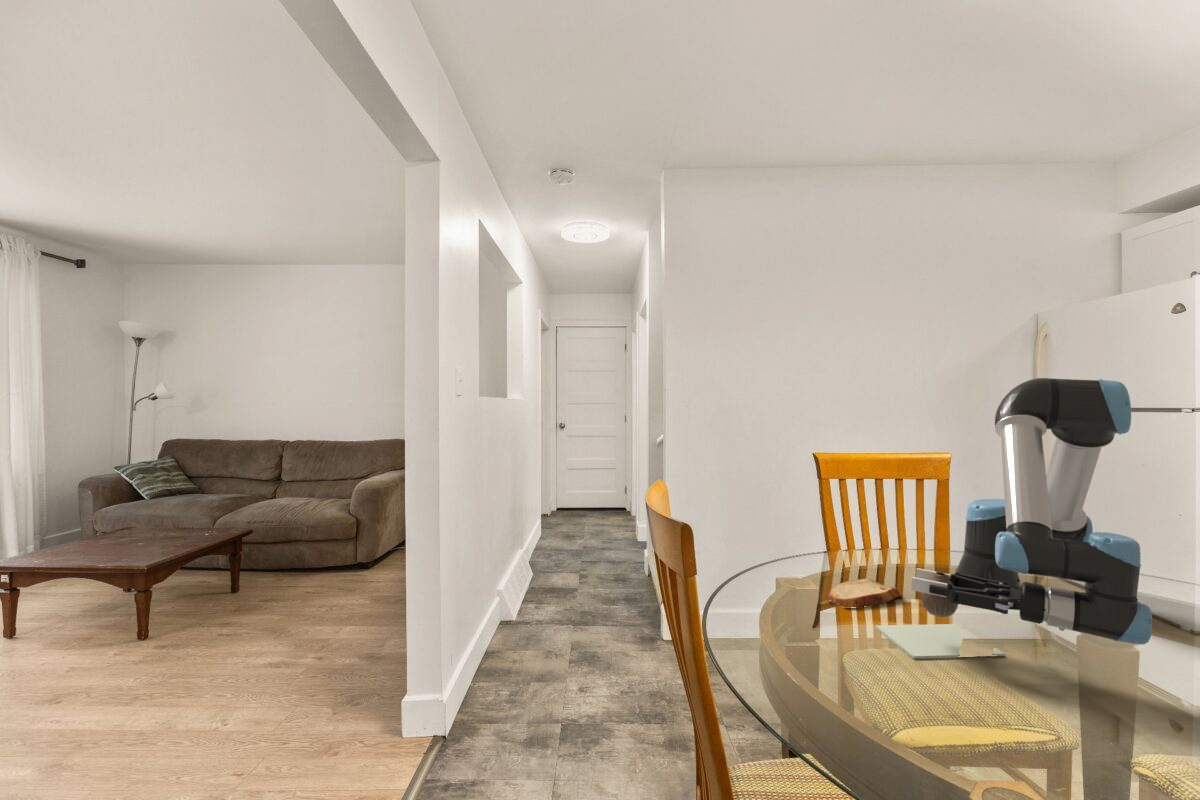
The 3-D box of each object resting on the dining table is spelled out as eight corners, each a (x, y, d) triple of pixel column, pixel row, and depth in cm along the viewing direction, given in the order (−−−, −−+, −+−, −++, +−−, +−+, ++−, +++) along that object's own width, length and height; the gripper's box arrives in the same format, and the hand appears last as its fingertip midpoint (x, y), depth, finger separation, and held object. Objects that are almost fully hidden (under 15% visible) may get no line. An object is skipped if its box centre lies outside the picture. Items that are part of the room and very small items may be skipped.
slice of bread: (829, 608, 147) (830, 593, 147) (823, 582, 164) (824, 569, 164) (910, 618, 142) (911, 603, 142) (895, 591, 159) (896, 577, 159)
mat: (957, 626, 138) (957, 623, 138) (1004, 656, 124) (1004, 653, 124) (875, 628, 136) (875, 625, 136) (913, 659, 122) (913, 656, 122)
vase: (913, 607, 132) (916, 568, 132) (943, 607, 133) (946, 568, 132) (933, 620, 125) (936, 579, 125) (965, 620, 126) (967, 579, 125)
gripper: (1045, 641, 111) (906, 609, 124) (1041, 607, 127) (918, 582, 140) (1048, 601, 110) (909, 574, 123) (1043, 573, 126) (920, 551, 139)
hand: (914, 578), depth 132 cm, fingers closed on vase, 6 cm apart
